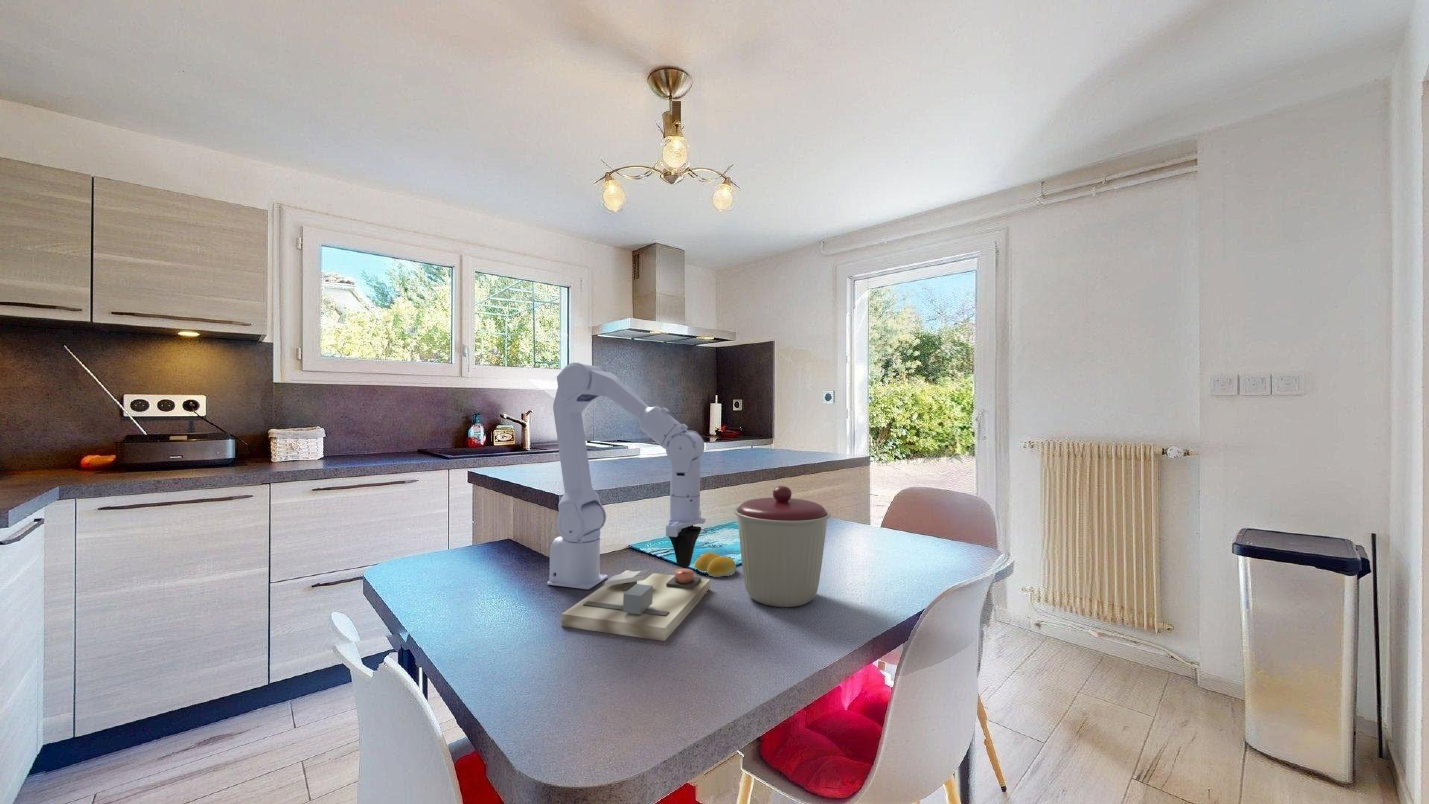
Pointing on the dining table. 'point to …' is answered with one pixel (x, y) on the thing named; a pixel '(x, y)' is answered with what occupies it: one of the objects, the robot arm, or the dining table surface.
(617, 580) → the grey rocker
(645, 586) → the grey rectangular block
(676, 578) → the red push button
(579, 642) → the dining table surface
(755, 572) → the canister
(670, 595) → the switch panel
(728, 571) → the double yolk fried egg
